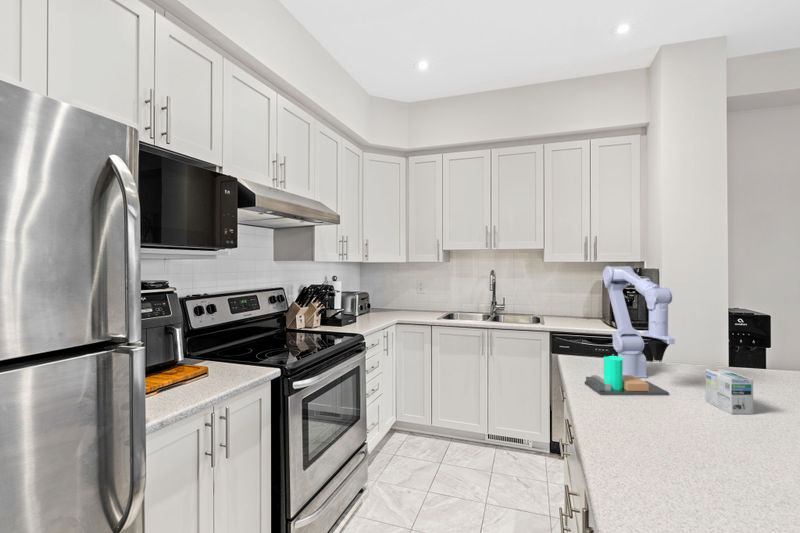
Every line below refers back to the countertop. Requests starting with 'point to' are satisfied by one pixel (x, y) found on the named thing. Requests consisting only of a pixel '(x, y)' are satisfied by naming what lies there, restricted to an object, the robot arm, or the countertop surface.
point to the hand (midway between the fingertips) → (657, 360)
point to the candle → (613, 371)
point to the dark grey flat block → (605, 389)
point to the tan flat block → (634, 384)
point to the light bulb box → (729, 391)
